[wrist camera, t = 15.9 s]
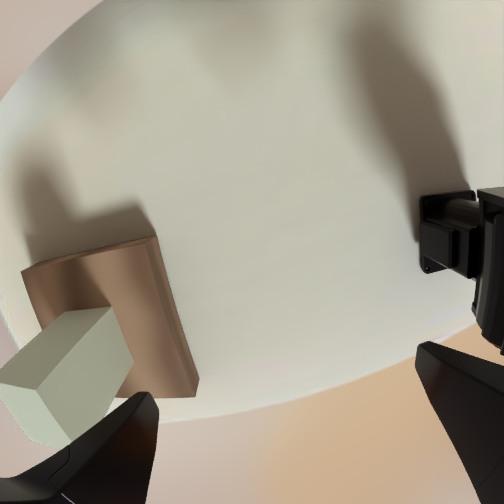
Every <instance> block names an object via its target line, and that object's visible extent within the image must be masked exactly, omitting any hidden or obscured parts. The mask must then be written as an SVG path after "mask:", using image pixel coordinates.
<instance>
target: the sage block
mask: <svg viewBox="0 0 504 504" xmlns="http://www.w3.org/2000/svg"><path fill="white" fill-rule="evenodd" d="M133 364H134V360H133V358H132V356H131V353H130V351H129V349H128V346H127V344H126V342H125V339H124V337H123V334H122V332H121V329H120V326H119V324H118V321H117V319H116V316H115V313H114V310H113V308H112V306H111V307H103V308H94V309H85V310H76V311H67V312H64V313H63V314H61V315H60V316H59V317H58V318H57V319H55V320H54V321H53V322H52V323H51V324H50V325H48V326H47V327H46V328H45V329H44V330H43V331H41V332H40V333H39V334H38V335H37V336H36V337H35V338H33V339H32V340H31V341H30V342H29V343H28V344H27V345H26V346H25V347H23V348H22V349H21V350H20V351H19V352H18V353H17V354H16V355H15V356H14V357H13V358H12V359H11V360H9V361H8V362H7V363H6V364H5V365H4V366H3V367H2V368H1V369H0V399H1V400H2V402H3V403H4V405H5V406H6V408H7V409H8V411H9V412H10V414H11V415H12V416H13V418H14V419H15V420H16V422H17V423H18V425H19V426H20V427H21V429H22V430H23V431H24V432H25V434H26V435H27V436H28V437H29V439H30V440H31V441H34V442H37V443H40V444H43V445H46V446H49V447H52V448H56V449H59V450H61V449H63V448H64V447H66V446H67V445H70V443H71V442H72V441H74V440H75V439H76V438H78V437H79V436H81V435H82V434H83V433H85V432H86V431H87V430H89V429H90V428H91V427H93V426H94V425H95V424H97V423H98V422H99V421H100V420H102V419H103V418H104V416H105V414H106V412H107V410H108V409H109V407H110V405H111V403H112V401H113V399H114V398H115V396H116V394H117V392H118V390H119V389H120V387H121V385H122V383H123V381H124V380H125V378H126V376H127V374H128V372H129V371H130V369H131V367H132V365H133Z"/></svg>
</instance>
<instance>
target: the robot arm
mask: <svg viewBox="0 0 504 504" xmlns="http://www.w3.org/2000/svg"><path fill="white" fill-rule="evenodd" d="M470 196H471V197H470ZM477 198H479V202H477V201H476V194H475V192H474V191H473V190H464V191H455V192H446V193H438V194H430V195H423V196H422V197H421V198H420V216H421V223H420V234H421V253H422V271H423V272H424V273H426V274H429V273H433V272H437V271H441V270H444V269H452V270H453V271H455V272H457V273H459V274H461V275H462V276H464V277H466V278H468V279H472V280H474V281H476V289H475V297H474V302H473V303H472V309H471V310H472V312H473V313H474V315H475V317H476V321H477V323H478V325H479V326H480V328H481V329H482V333H481V334H482V336H483V337H484V338H485V339H486V340H487V341H488V342H490V343H492V344H493V345H494V346H495V347H497V348H499V349H501V351H500V354H501V355H503V356H504V187H496V188H486V189H477ZM425 199H426V200H427V203H426V204H425ZM427 266H428V269H426V267H427ZM415 368H416V371H417V373H418V375H419V378H420V380H421V382H422V384H423V387H424V389H425V391H426V394H427V396H428V398H429V400H430V403H431V405H432V406H433V408H434V410H435V412H436V414H437V415H438V417H439V419H440V421H441V423H442V424H443V426H444V428H445V430H446V432H447V434H448V436H449V438H450V439H451V441H452V443H453V445H454V447H455V449H456V451H457V453H458V455H459V457H460V459H461V461H462V463H463V465H464V467H465V469H466V471H467V473H468V476H469V478H470V480H471V482H472V484H473V486H474V489H475V490H476V493H477V496H478V498H479V500H480V503H481V504H504V366H502V365H499V364H496V363H493V362H490V361H487V360H484V359H481V358H478V357H475V356H472V355H469V354H466V353H463V352H460V351H457V350H454V349H451V348H448V347H445V346H442V345H440V344H437V343H434V342H431V341H426V342H424V343H421V344H419V345H418V347H417V353H416V360H415ZM158 422H159V409H158V406H157V405H156V403H155V401H154V399H153V397H152V395H151V393H150V392H148V391H139V392H137V393H135V394H134V395H133V396H131V397H130V398H129V399H128V400H126V401H125V402H124V403H122V404H121V405H120V406H119V407H117V408H116V409H115V410H113V411H112V412H111V413H110V414H108V415H107V416H106V417H104V418H103V419H102V420H100V421H99V422H98V423H97V424H95V425H94V426H93V427H91V428H90V429H89V430H87V431H86V432H85V433H83V434H82V435H81V436H79V437H78V438H76V439H75V440H74V441H72V442H71V443H70V445H67V446H66V447H64V448H63V449H61V450H60V451H58V452H57V453H56V454H54V455H53V456H51V457H49V458H48V459H46V460H45V461H43V462H41V463H39V464H38V465H36V466H34V467H32V468H30V469H29V470H27V471H25V472H23V473H21V474H20V475H17V476H15V477H10V478H0V504H145V502H146V497H147V491H148V485H149V480H150V476H151V471H152V466H153V461H154V457H155V451H156V443H157V432H158Z"/></svg>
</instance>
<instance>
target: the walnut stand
mask: <svg viewBox="0 0 504 504" xmlns="http://www.w3.org/2000/svg"><path fill="white" fill-rule="evenodd" d="M21 274H22V278H23V281H24V284H25V287H26V290H27V293H28V295H29V298H30V301H31V304H32V306H33V309H34V311H35V314H36V316H37V319H38V321H39V324H40V326H41V328H42V331H43V330H44V329H45V328H46V327H47V326H48V325H50V324H51V323H52V322H53V321H54V320H55V319H57V318H58V317H59V316H60V315H61V314H63V313H64V312H67V311H76V310H85V309H94V308H103V307H111V306H112V308H113V310H114V313H115V316H116V319H117V321H118V324H119V326H120V329H121V332H122V334H123V337H124V339H125V342H126V344H127V346H128V349H129V351H130V353H131V356H132V358H133V360H134V364H133V365H132V367H131V369H130V371H129V372H128V374H127V376H126V378H125V380H124V381H123V383H122V385H121V387H120V389H119V390H118V392H117V394H116V396H115V397H116V398H130V397H131V396H133V395H134V394H135V393H137V392H139V391H148V392H150V393H151V395H152V397H153V398H188V397H195V396H196V391H197V387H198V383H199V376H198V373H197V370H196V368H195V365H194V362H193V359H192V356H191V353H190V350H189V347H188V344H187V341H186V338H185V335H184V332H183V329H182V326H181V323H180V320H179V316H178V313H177V310H176V306H175V303H174V300H173V296H172V293H171V289H170V286H169V282H168V278H167V275H166V271H165V267H164V263H163V259H162V256H161V252H160V248H159V243H158V239H157V236H153V237H148V238H144V239H139V240H134V241H130V242H125V243H121V244H116V245H112V246H107V247H103V248H98V249H94V250H90V251H85V252H81V253H77V254H73V255H69V256H64V257H60V258H56V259H52V260H48V261H44V262H40V263H37V264H35V265H33V266H31V267H29V268H27V269H25V270H23V271H21Z"/></svg>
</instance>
